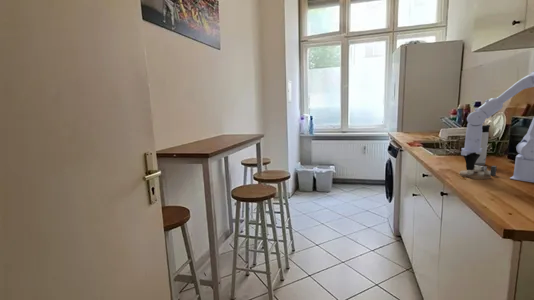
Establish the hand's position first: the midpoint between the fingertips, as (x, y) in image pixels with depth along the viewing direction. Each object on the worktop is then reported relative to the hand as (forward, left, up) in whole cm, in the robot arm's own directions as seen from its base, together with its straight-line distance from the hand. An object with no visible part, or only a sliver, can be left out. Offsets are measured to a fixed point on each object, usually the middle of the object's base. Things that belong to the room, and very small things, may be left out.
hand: (469, 169), depth 128 cm
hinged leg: (-2, -1, -1) cm, 3 cm away
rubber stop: (-7, -6, -2) cm, 9 cm away
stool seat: (-3, +2, -2) cm, 4 cm away
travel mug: (+4, -27, -2) cm, 27 cm away
